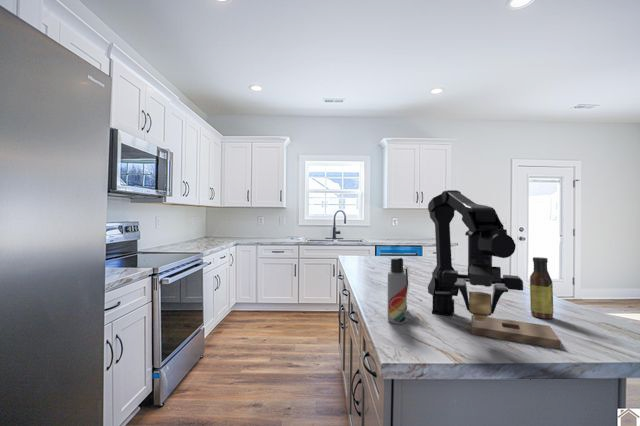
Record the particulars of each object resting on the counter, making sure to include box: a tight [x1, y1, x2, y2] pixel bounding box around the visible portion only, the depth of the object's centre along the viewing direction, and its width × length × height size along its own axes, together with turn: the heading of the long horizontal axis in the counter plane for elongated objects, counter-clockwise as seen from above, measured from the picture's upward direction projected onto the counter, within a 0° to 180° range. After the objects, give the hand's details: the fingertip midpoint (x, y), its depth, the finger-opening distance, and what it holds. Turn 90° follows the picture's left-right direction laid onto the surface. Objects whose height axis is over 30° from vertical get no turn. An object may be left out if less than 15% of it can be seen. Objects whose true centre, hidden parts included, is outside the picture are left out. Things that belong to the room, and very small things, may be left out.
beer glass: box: [389, 266, 411, 312], centre depth 106 cm, size 7×7×15 cm
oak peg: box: [468, 291, 492, 321], centre depth 79 cm, size 5×5×7 cm
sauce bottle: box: [529, 256, 554, 320], centre depth 100 cm, size 7×6×20 cm
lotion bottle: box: [387, 257, 407, 325], centre depth 93 cm, size 6×6×20 cm
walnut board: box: [470, 314, 562, 349], centre depth 84 cm, size 20×12×2 cm, turn 63°
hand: (480, 311), depth 79 cm, fingers closed on oak peg, 5 cm apart
